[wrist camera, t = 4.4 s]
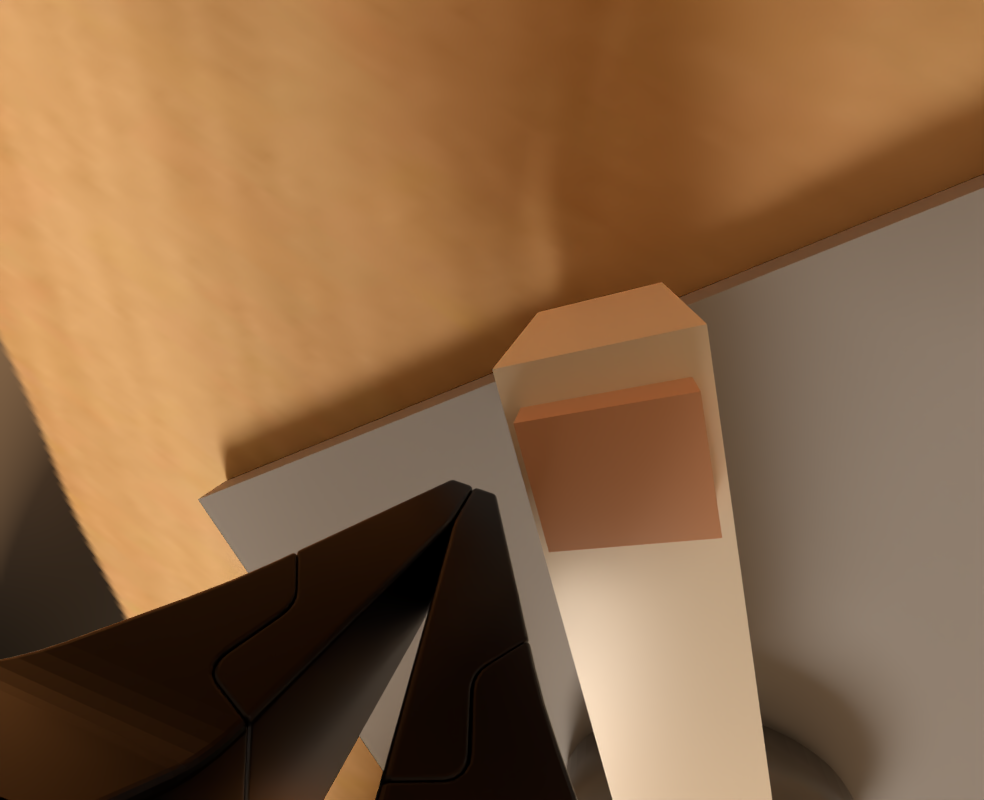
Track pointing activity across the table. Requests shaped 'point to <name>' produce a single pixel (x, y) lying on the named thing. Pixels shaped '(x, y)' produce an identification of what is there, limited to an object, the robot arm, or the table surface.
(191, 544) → the table surface
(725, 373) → the grey mat
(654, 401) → the beige bar with disc
